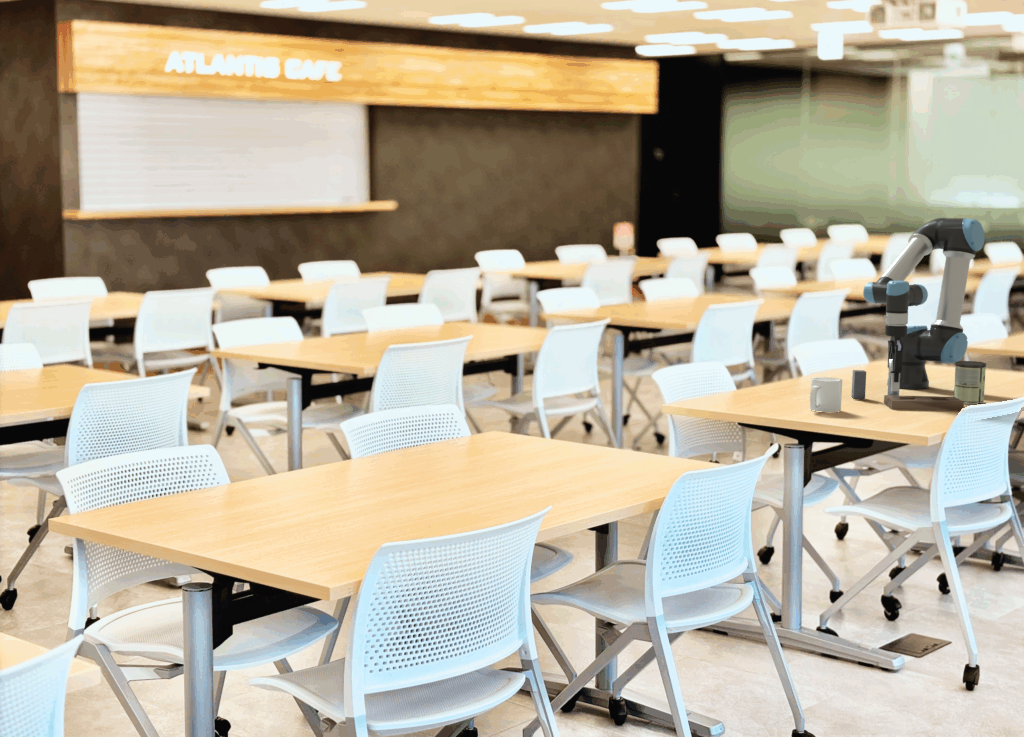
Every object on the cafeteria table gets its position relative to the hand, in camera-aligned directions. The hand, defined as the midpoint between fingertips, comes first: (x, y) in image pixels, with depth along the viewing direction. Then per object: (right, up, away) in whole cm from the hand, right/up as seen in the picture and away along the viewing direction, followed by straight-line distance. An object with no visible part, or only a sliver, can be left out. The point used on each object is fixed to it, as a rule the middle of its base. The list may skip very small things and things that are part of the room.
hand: (893, 389), depth 471 cm
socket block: (+5, -6, -16) cm, 18 cm away
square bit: (-12, -3, +1) cm, 13 cm away
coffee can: (+25, -4, -4) cm, 26 cm away
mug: (-31, -7, -27) cm, 42 cm away
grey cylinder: (0, -2, 0) cm, 2 cm away
